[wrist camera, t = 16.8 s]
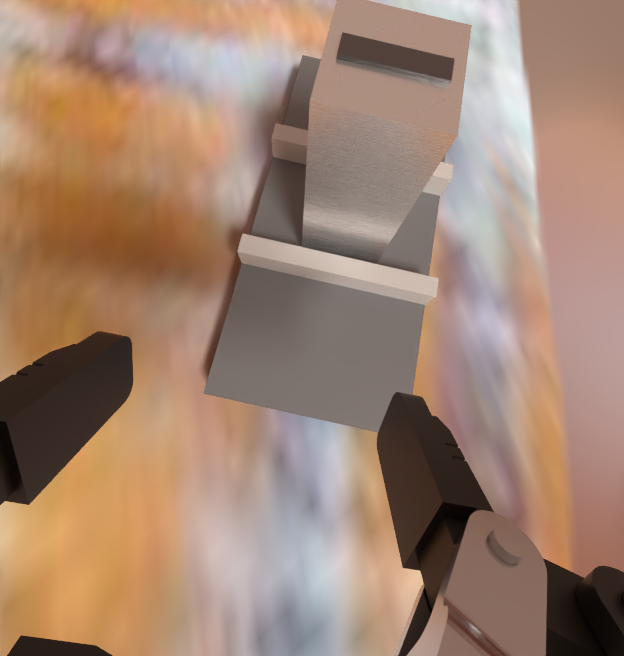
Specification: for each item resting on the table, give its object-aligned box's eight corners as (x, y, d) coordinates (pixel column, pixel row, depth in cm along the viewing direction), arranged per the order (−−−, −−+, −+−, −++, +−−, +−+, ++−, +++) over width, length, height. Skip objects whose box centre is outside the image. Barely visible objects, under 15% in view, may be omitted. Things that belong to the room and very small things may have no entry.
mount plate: (212, 393, 19) (194, 393, 16) (302, 81, 25) (303, 30, 21) (394, 434, 19) (417, 442, 16) (441, 114, 25) (465, 69, 22)
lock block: (301, 246, 20) (310, 96, 10) (317, 182, 21) (339, -12, 11) (376, 263, 20) (459, 131, 10) (387, 198, 21) (473, 20, 11)
